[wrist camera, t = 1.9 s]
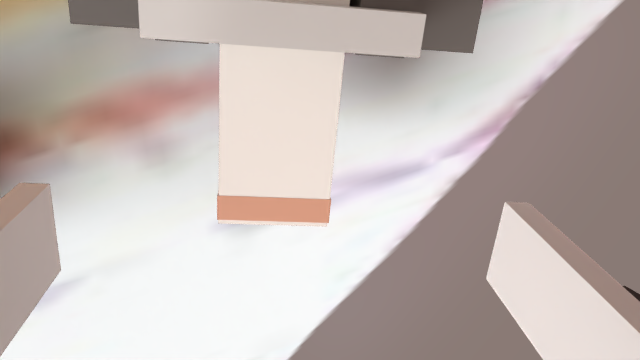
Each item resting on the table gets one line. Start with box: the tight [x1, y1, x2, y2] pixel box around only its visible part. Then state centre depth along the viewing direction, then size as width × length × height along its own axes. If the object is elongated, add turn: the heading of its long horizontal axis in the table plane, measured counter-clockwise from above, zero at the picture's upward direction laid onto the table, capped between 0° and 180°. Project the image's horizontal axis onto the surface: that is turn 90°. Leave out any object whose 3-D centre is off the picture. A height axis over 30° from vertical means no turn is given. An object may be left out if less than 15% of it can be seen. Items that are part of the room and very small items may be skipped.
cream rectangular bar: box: [217, 0, 350, 227], centre depth 21 cm, size 16×5×3 cm, turn 175°
